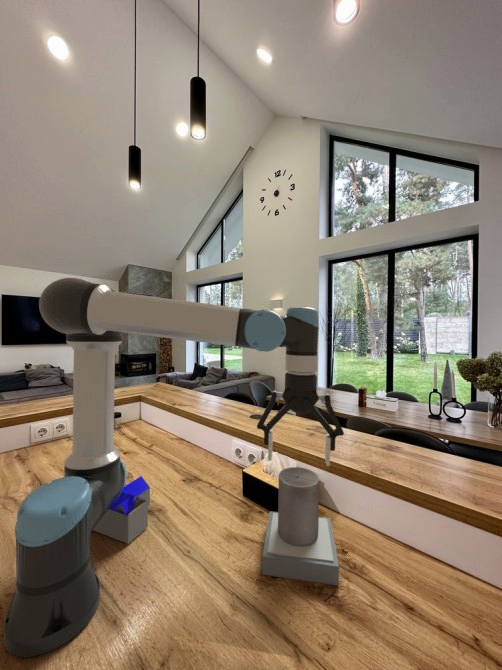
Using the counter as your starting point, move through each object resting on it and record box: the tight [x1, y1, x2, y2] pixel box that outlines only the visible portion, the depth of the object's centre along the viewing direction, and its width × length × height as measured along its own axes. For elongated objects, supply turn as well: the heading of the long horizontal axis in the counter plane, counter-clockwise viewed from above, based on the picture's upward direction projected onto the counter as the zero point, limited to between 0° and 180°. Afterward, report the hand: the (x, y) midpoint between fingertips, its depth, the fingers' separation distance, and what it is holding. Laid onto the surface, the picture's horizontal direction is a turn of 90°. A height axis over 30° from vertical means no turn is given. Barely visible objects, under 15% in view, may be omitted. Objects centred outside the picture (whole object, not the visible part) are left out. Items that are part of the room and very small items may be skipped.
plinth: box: [261, 511, 340, 586], centre depth 70 cm, size 16×16×4 cm
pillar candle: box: [277, 466, 320, 546], centre depth 70 cm, size 10×10×15 cm
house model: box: [92, 475, 151, 545], centre depth 83 cm, size 25×15×10 cm, turn 67°
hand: (298, 460), depth 70 cm, fingers open, 13 cm apart
